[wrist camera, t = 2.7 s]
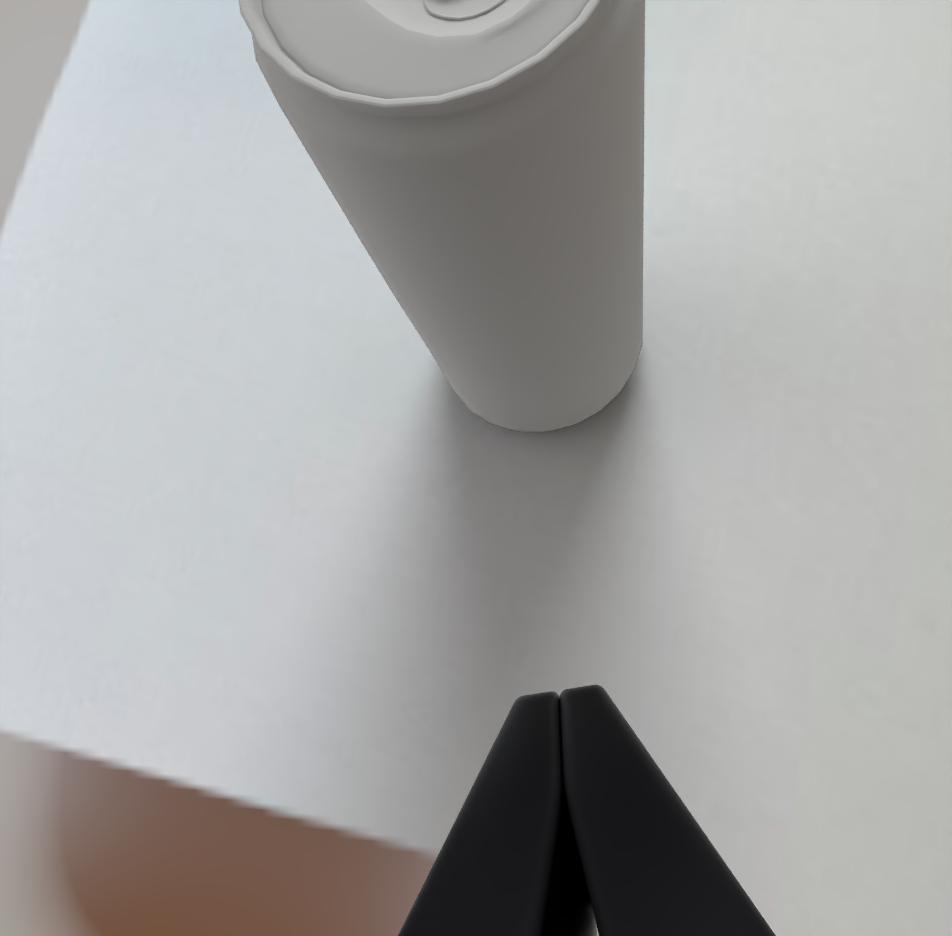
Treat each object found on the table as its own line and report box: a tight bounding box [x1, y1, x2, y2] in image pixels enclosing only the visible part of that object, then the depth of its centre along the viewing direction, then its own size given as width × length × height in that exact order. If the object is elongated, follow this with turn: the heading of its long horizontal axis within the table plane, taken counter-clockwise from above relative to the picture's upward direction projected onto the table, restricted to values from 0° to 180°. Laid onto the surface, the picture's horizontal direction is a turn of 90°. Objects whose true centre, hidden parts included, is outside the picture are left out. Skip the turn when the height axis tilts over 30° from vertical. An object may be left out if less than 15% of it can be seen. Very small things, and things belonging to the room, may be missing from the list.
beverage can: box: [239, 0, 645, 432], centre depth 16 cm, size 5×5×12 cm
